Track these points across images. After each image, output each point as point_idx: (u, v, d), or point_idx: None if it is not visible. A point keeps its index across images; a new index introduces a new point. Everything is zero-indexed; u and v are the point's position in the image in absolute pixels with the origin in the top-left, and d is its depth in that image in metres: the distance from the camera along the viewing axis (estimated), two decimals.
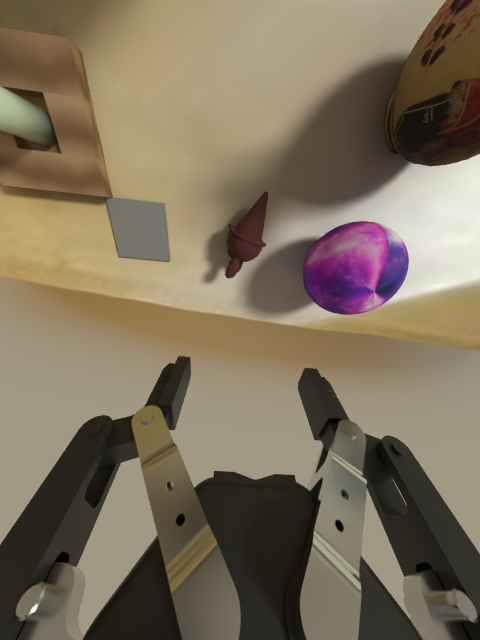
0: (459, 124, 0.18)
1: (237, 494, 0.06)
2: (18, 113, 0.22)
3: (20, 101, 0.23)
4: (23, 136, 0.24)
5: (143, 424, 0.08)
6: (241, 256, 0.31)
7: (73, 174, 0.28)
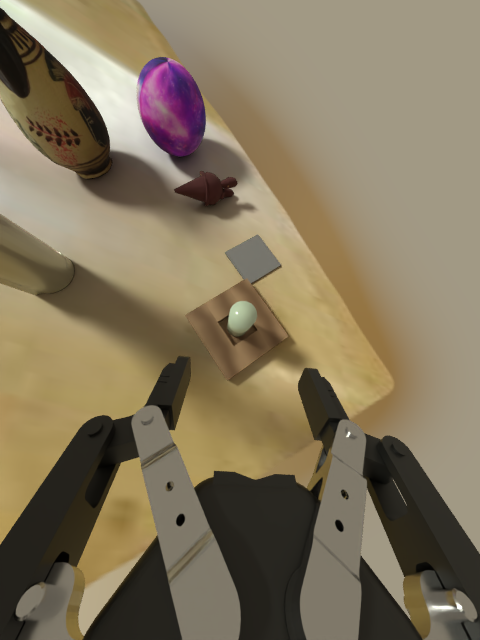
0: (83, 97, 0.35)
1: (237, 494, 0.06)
2: None
3: None
4: None
5: (143, 424, 0.08)
6: (216, 177, 0.42)
7: (248, 297, 0.40)
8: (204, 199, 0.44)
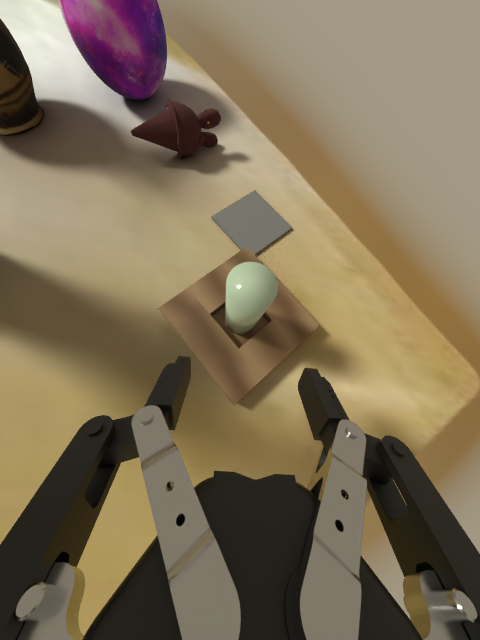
0: None
1: (237, 494, 0.06)
2: None
3: None
4: None
5: (143, 424, 0.08)
6: (190, 109, 0.29)
7: None
8: (176, 144, 0.31)
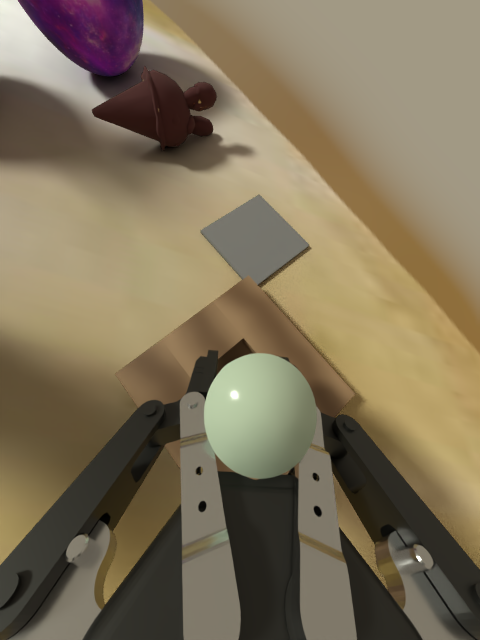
0: None
1: (237, 494, 0.06)
2: None
3: None
4: None
5: (190, 408, 0.09)
6: (174, 81, 0.21)
7: (255, 316, 0.19)
8: (155, 131, 0.23)
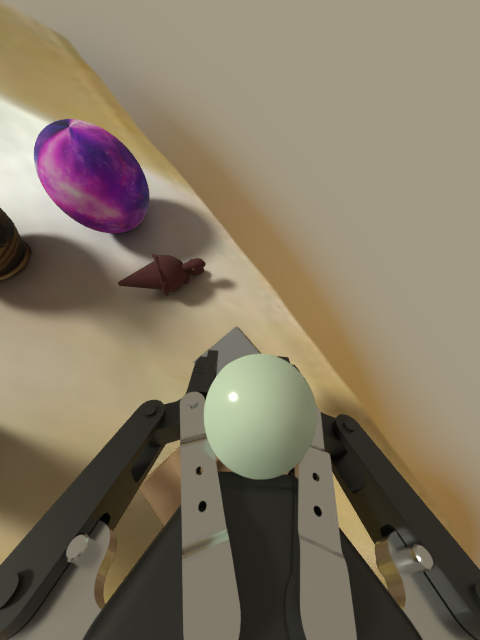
0: None
1: (237, 494, 0.06)
2: None
3: None
4: None
5: (190, 408, 0.09)
6: (175, 262, 0.30)
7: None
8: (162, 289, 0.32)
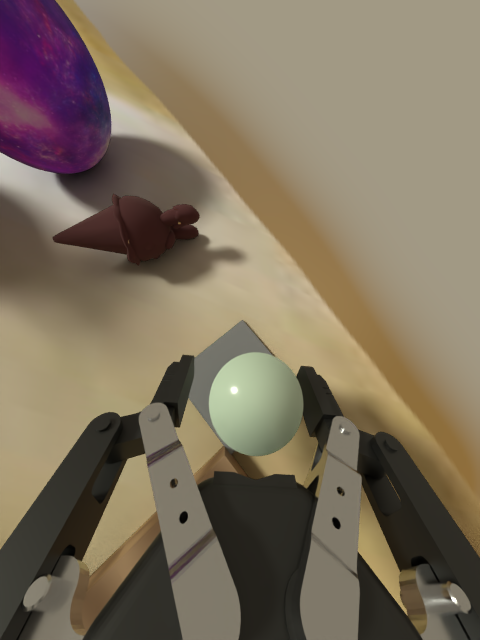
0: None
1: (237, 494, 0.06)
2: None
3: None
4: None
5: (150, 421, 0.08)
6: (149, 207, 0.18)
7: None
8: None
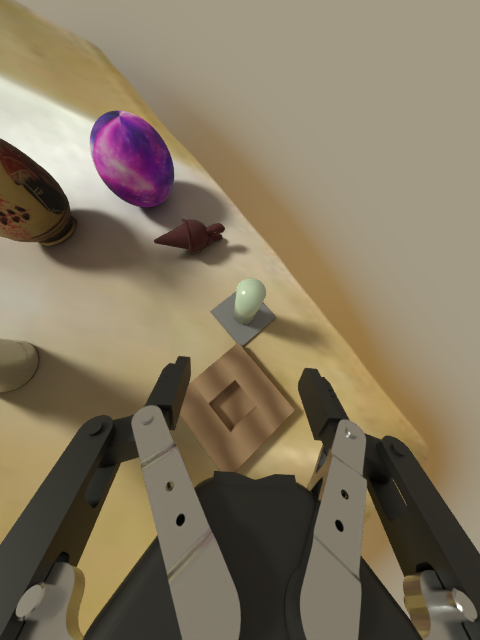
0: (26, 168, 0.30)
1: (237, 494, 0.06)
2: None
3: None
4: None
5: (143, 424, 0.08)
6: (201, 225, 0.37)
7: (241, 367, 0.34)
8: (188, 248, 0.39)
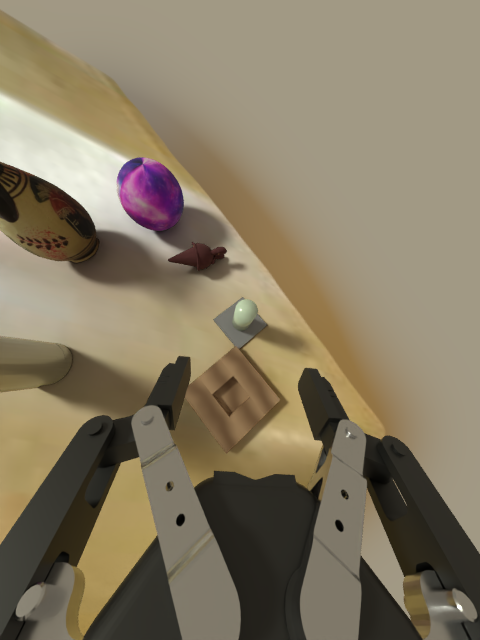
0: (67, 205, 0.37)
1: (237, 494, 0.06)
2: None
3: None
4: None
5: (143, 424, 0.08)
6: (207, 248, 0.45)
7: (238, 365, 0.42)
8: (196, 266, 0.47)
